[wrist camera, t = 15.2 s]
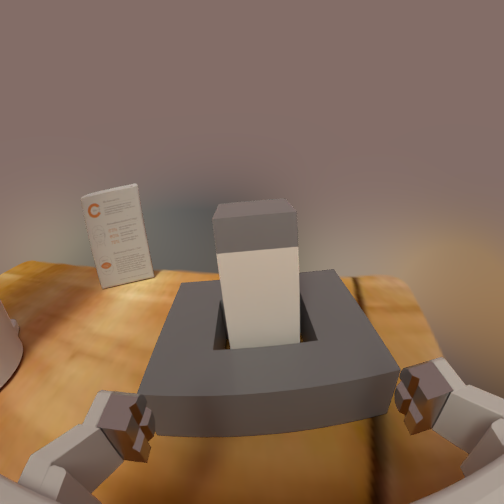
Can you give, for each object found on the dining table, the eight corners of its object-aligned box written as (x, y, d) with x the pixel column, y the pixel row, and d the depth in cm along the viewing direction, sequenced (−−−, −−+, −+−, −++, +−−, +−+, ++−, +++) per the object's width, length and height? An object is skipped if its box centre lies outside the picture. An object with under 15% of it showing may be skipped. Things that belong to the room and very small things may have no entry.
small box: (151, 263, 45) (137, 182, 41) (155, 278, 40) (138, 184, 35) (104, 274, 42) (86, 193, 38) (101, 290, 37) (79, 197, 32)
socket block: (157, 435, 15) (136, 394, 14) (188, 318, 29) (181, 282, 28) (386, 413, 15) (400, 369, 14) (332, 305, 29) (333, 269, 28)
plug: (236, 383, 20) (212, 219, 16) (236, 345, 24) (218, 204, 20) (299, 377, 20) (296, 211, 16) (290, 340, 24) (285, 198, 20)
